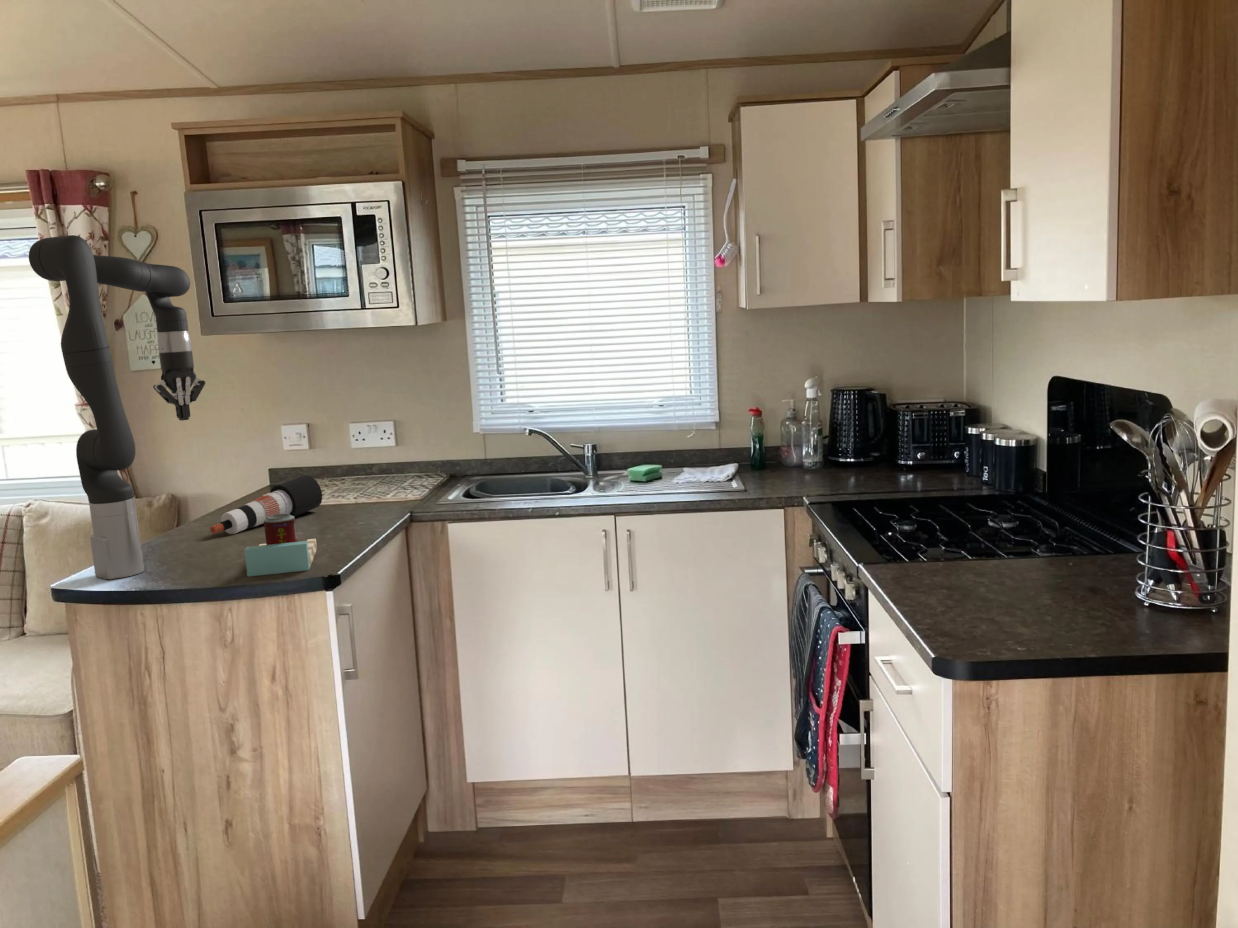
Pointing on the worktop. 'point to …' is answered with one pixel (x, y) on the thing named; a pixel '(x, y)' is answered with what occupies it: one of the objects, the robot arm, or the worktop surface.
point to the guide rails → (309, 549)
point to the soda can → (280, 529)
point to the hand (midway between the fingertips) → (184, 419)
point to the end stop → (277, 558)
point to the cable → (273, 505)
